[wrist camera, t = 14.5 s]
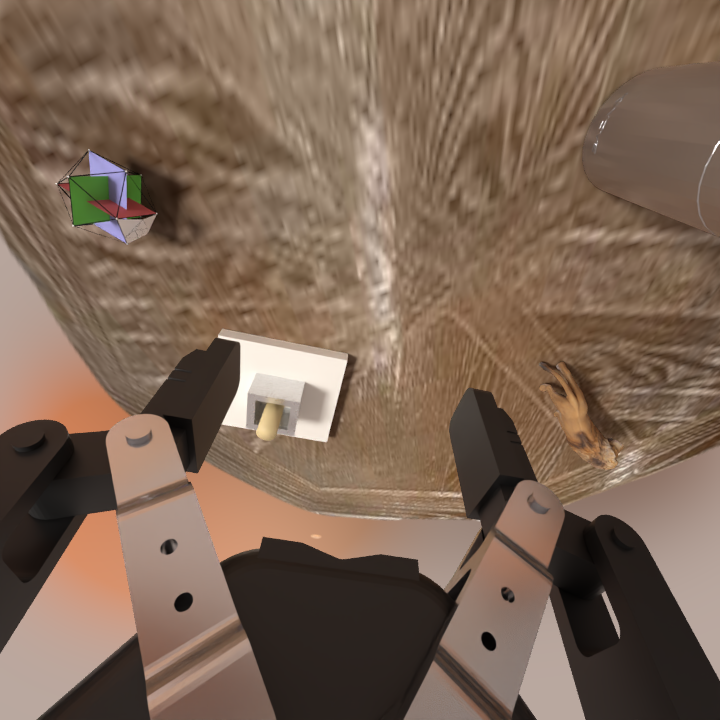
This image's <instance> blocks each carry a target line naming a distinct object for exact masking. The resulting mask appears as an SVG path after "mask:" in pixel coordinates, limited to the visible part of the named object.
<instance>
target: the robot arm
mask: <svg viewBox="0 0 720 720" xmlns="http://www.w3.org/2000/svg"><path fill="white" fill-rule="evenodd" d="M583 166H584V171H585V173H586V175H587V177H588V179H589V180H590V181H591V183H592V184H593V185H594V186H596V187H597V188H599V189H601V190H602V191H605V192H607V193H610V194H612V195H615V196H617V197H620V198H622V199H624V200H627V201H629V202H632V203H634V204H637V205H639V206H642V207H644V208H647V209H649V210H652V211H654V212H657V213H660V214H662V215H665V216H667V217H670V218H672V219H675V220H677V221H680V222H682V223H685V224H687V225H690V226H692V227H695V228H697V229H700V230H702V231H705V232H707V233H710V234H713V235H715V236H718V237H720V61H718V62H708V63H697V64H687V65H678V66H669V67H661V68H657V69H652V70H648V71H646V72H644V73H642V74H639V75H637V76H635V77H633V78H632V79H630V80H629V81H627V82H626V83H625V84H623V85H622V86H621V87H619V88H618V89H617V90H616V91H615V92H614V93H613V94H612V95H611V96H610V97H609V98H608V99H607V100H606V102H605V103H604V104H603V105H602V106H601V108H600V109H599V111H598V112H597V114H596V116H595V117H594V119H593V121H592V122H591V125H590V127H589V129H588V132H587V134H586V138H585V142H584V146H583ZM239 382H240V343H239V342H237V341H232V340H226V339H221V338H215V339H214V340H213V342H212V343H211V345H210V346H209V348H208V349H207V351H203V350H198V349H196V350H195V351H193V352H191V353H190V354H188V355H186V356H185V357H183V358H182V359H181V361H180V362H179V363H178V365H177V366H176V367H175V370H173V371H172V373H171V374H170V375H169V377H168V380H167V379H166V381H165V382H164V383H163V385H162V386H161V387H160V389H159V390H158V391H157V393H156V394H155V395H154V397H153V398H152V399H151V400H150V402H149V403H148V404H147V406H146V407H145V408H144V410H143V411H142V412H141V414H139V415H134V416H131V417H128V418H126V419H123V420H122V421H120V422H118V423H117V424H115V425H114V426H113V427H112V428H111V429H110V430H108V431H100V432H88V433H75V434H69V433H68V431H67V429H66V427H65V426H64V425H63V424H61V423H59V422H57V421H53V420H35V421H31V422H26V423H23V424H20V425H17V426H15V427H13V428H11V429H9V430H7V431H6V432H4V433H3V434H1V435H0V653H1V651H2V650H3V648H4V646H5V645H6V644H7V642H8V640H9V639H10V637H11V636H12V634H13V632H14V631H15V629H16V628H17V626H18V624H19V623H20V621H21V620H22V618H23V617H24V615H25V613H26V612H27V610H28V609H29V607H30V605H31V604H32V602H33V601H34V599H35V597H36V596H37V594H38V593H39V591H40V589H41V588H42V586H43V585H44V583H45V581H46V580H47V578H48V577H49V575H50V573H51V572H52V570H53V569H54V567H55V565H56V564H57V562H58V561H59V559H60V558H61V556H62V554H63V553H64V551H65V549H66V548H67V546H68V545H69V543H70V541H71V540H72V538H73V537H74V535H75V533H76V532H77V530H78V529H79V527H80V525H81V524H82V522H83V521H84V519H85V518H86V516H87V514H90V513H97V512H104V511H111V510H116V515H117V522H118V528H119V533H120V539H121V544H122V550H123V556H124V561H125V567H126V572H127V578H128V584H129V589H130V595H131V601H132V606H133V612H134V617H135V623H136V628H137V633H136V634H135V635H134V636H133V637H132V638H130V639H129V640H128V641H127V642H126V643H124V644H123V645H122V646H121V647H120V648H119V649H118V650H117V651H115V652H114V653H113V654H112V655H111V656H110V657H109V658H107V659H106V660H105V661H104V662H103V663H101V664H100V665H99V666H98V667H97V668H96V669H94V670H93V671H92V672H91V673H90V674H89V675H88V676H86V677H85V678H84V679H83V680H82V681H81V682H80V683H78V684H77V685H76V686H75V687H74V688H72V689H71V690H70V691H69V692H68V693H67V694H66V695H64V696H63V697H62V698H61V699H60V700H59V701H57V702H56V703H55V704H54V705H53V706H52V707H51V708H49V709H48V710H47V711H46V712H45V713H44V714H43V715H41V716H40V717H39V718H38V719H37V720H537V719H536V718H535V716H534V715H533V714H532V712H531V711H530V709H529V708H528V707H527V705H526V704H525V702H524V701H523V699H522V698H521V696H520V695H519V690H520V687H521V684H522V681H523V677H524V674H525V671H526V668H527V665H528V661H529V658H530V655H531V652H532V649H533V645H534V642H535V639H536V636H537V633H538V629H539V626H540V623H541V619H542V616H543V613H544V610H545V607H546V604H547V600H548V597H549V596H550V600H551V603H552V606H553V609H554V613H555V617H556V620H557V623H558V627H559V630H560V634H561V637H562V640H563V644H564V647H565V651H566V654H567V658H568V661H569V664H570V668H571V671H572V675H573V678H574V681H575V685H576V688H577V692H578V695H579V699H580V702H581V705H582V709H583V712H584V716H585V719H586V720H720V681H719V679H718V677H717V675H716V673H715V671H714V670H713V668H712V666H711V664H710V662H709V660H708V658H707V657H706V655H705V653H704V651H703V649H702V647H701V646H700V644H699V642H698V640H697V638H696V636H695V635H694V633H693V631H692V629H691V627H690V625H689V624H688V622H687V620H686V618H685V616H684V614H683V613H682V611H681V609H680V607H679V605H678V604H677V602H676V600H675V598H674V596H673V594H672V593H671V591H670V589H669V587H668V585H667V583H666V581H665V580H664V578H663V576H662V574H661V572H660V571H659V569H658V567H657V565H656V563H655V561H654V559H653V558H652V556H651V554H650V552H649V550H648V548H647V547H646V545H645V543H644V542H643V540H642V539H641V537H640V536H639V535H638V534H637V533H636V531H634V530H633V529H632V528H631V527H630V526H629V525H627V524H626V523H625V522H623V521H621V520H620V519H618V518H616V517H613V516H610V515H600V516H598V517H597V518H596V519H595V520H594V521H592V522H590V521H588V520H586V519H583V518H581V517H579V516H577V515H575V514H573V513H571V512H568V511H566V510H564V508H563V505H562V503H561V502H560V500H559V499H558V497H557V496H556V495H555V494H554V493H553V492H552V491H551V490H550V489H548V488H547V487H546V486H544V485H542V484H540V483H538V481H537V479H536V477H535V474H534V472H533V469H532V467H531V464H530V462H529V459H528V457H527V455H526V452H525V450H524V447H523V446H522V445H521V443H522V442H521V440H520V438H519V435H517V430H516V428H515V425H514V423H513V421H512V419H511V418H510V417H509V416H508V415H507V413H506V412H505V411H504V410H503V409H501V408H497V405H496V402H495V400H494V397H493V395H492V393H491V392H488V391H483V390H478V389H473V388H468V389H467V390H466V392H465V393H464V395H463V397H462V399H461V401H460V403H459V405H458V407H457V408H456V410H455V412H454V414H453V416H452V418H451V421H450V427H449V433H450V438H451V443H452V448H453V453H454V457H455V462H456V467H457V472H458V477H459V481H460V486H461V491H462V496H463V501H464V505H465V510H466V515H467V518H471V519H477V520H480V521H481V525H482V528H481V529H480V530H479V532H478V533H477V535H476V537H475V538H474V540H473V542H472V544H471V546H470V547H469V549H468V551H467V553H466V554H465V556H464V558H463V560H462V561H461V563H460V565H459V567H458V568H457V570H456V572H455V574H454V575H453V577H452V578H451V580H450V581H449V583H448V584H447V586H446V587H445V588H444V590H443V589H442V588H441V587H440V586H439V585H438V584H436V583H435V582H434V581H432V580H431V579H429V578H428V577H426V576H424V575H422V574H421V573H419V568H418V560H416V559H409V558H402V557H394V556H388V555H382V554H380V555H373V556H366V557H359V558H351V559H343V560H342V559H338V558H335V557H333V556H331V555H329V554H326V553H324V552H322V551H320V550H317V549H315V548H313V547H311V546H308V545H306V544H304V543H300V542H293V541H287V540H280V539H273V538H266V537H263V539H262V543H261V547H260V549H253V550H249V551H245V552H242V553H239V554H236V555H234V556H231V557H229V558H227V559H226V560H224V561H222V562H220V563H219V560H218V557H217V554H216V551H215V548H214V546H213V542H212V540H211V537H210V534H209V531H208V528H207V526H206V523H205V520H204V517H203V514H202V511H201V508H200V505H199V503H198V499H197V497H196V494H195V491H194V488H193V486H192V484H191V482H188V479H187V477H186V474H185V472H186V471H187V472H193V473H198V472H199V470H200V468H201V466H202V464H203V462H204V460H205V457H206V455H207V453H208V451H209V449H210V447H211V445H212V443H213V441H214V439H215V437H216V435H217V433H218V431H219V429H220V426H221V424H222V422H223V420H224V418H225V416H226V414H227V412H228V410H229V408H230V406H231V404H232V402H233V400H234V398H235V395H236V393H237V390H238V387H239ZM604 591H606V594H607V596H608V598H609V601H610V603H611V606H612V608H613V611H614V613H615V616H616V618H617V620H618V623H619V627H620V639H619V637H618V634H617V632H616V629H615V627H614V624H613V622H612V619H611V617H610V614H609V612H608V609H607V607H606V605H605V602H604V600H603V597H602V594H601V593H603V592H604Z"/></svg>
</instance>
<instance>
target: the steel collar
mask: <svg viewBox="0 0 720 720" xmlns="http://www.w3.org/2000/svg"><path fill="white" fill-rule="evenodd" d="M304 384H305V382H304V381H298V380H293V379H288V378H282V377H277V376H272V375H267V374H261V373H256V375H255V377H254V379H253V382H252V384H251V386H250V389H249V391H248V395H247V417H246V428H248V429H254V430H257V428H258V425H259V423H260V420H261V417H262V414H263V411H264V408H265V405H266V404H263V403H262V402H267V403H272V404H278V405H283V406H289V407H291V408H286V407H284V410H283V414H282V417H281V421H280V424H279V428H278V431H277V434H283V435H289V436H294V435H295V431H296V426H297V422H298V418H299V413H300V407H301V402H302V396H303V390H304Z"/></svg>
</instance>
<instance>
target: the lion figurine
mask: <svg viewBox="0 0 720 720" xmlns="http://www.w3.org/2000/svg"><path fill="white" fill-rule="evenodd" d="M539 365H540V366H541V367H542V368H543V369H544V370H545V371H548V372H550V373H551V374H553V375H554V376H555V377H556V378H557V379H558V381H559V382H560V383H561V385H562V386H563V388H564V390H565V392H566V394H567V396H564V395H562V394H559V393H557V392H556V391H554V389H553V387H552V386H551V385H549V384H542V385H541V386H540V390H541V391H543V392H546V391H548V393H549V395H550V397H551V399H552V401H553V403H554V404H555V405H556V407H557V409H558V410H557V411H556V412H555V413H554V416H555V417H558V419H559V422H560V424H561V427H562V429H563V430H564V432H565V434H566V437H567V441H568V443H569V445H570V446H571V447H572V449H573V450H574V451H576V452H577V453H578V454H579V455H580V456H581V458H582V459H583V460H585V461H587V462H589V463H590V464H591V465H593V466H594V467H596V468H601V469H604V470H606V469H612V468H615V466H617V464H618V462H617V460H616V458H617V457H618V453H619V452H620V451H621V450H622V449H623V447H624V445H623V444H621V443H620V442H619V441H617V440H613V439H612V438H607V439H606V438H605V437H604V435H602V434H601V433H600V431H599V430H598V429H597V428H596V426H594V424H593V422H592V421H591V420H590V418H589V416H588V415H587V410H588V406H587V403H586V401H585V398H584V395H583V392H582V391H581V389H580V388H579V387H578V385H577V383H576V382H575V381H574V379H573V377H572V375H571V373H570V371H569V370H568V369H567V368H566V364H565V363H564V362H560V363H558V364H557V365H556V367H557V369H558V370H559V371H561V372H562V374H563V375H564V377H565V378H566V380H567V381H568V384H569V386H568V384H567V383H566V382H565V380H564V379H563V378H562V377H561V376H560V375H559V374H558V373H557V372H555V371H554V370H553V369H551V368H550V367H548V366H547V364H545V363H543V362H540V363H539Z"/></svg>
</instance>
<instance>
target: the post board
mask: <svg viewBox="0 0 720 720" xmlns="http://www.w3.org/2000/svg"><path fill="white" fill-rule="evenodd" d="M218 338H221V339H226V340H232V341H237V342H239V343H240V382H239V387H238V390H237V393H236V395H235V398H234V400H233V402H232V404H231V406H230V408H229V410H228V412H227V414H226V416H225V418H224V420H223V422H222V424H223V425H229V426H235V427H240V428H246V417H247V395H248V391H249V389H250V386H251V384H252V382H253V379H254V377H255V375H256V373H261V374H267V375H272V376H277V377H282V378H288V379H293V380H298V381H304V382H305V384H304V390H303V396H302V402H301V407H300V413H299V418H298V422H297V426H296V431H295V435H294V436H293V437H299V438H305V439H311V440H317V441H322V442H327V439H328V435H329V431H330V427H331V423H332V420H333V416H334V412H335V408H336V404H337V400H338V396H339V392H340V388H341V384H342V380H343V376H344V372H345V368H346V364H347V360H348V354H347V353H342V352H337V351H332V350H327V349H322V348H317V347H312V346H307V345H302V344H297V343H292V342H287V341H282V340H277V339H272V338H267V337H262V336H257V335H252V334H247V333H242V332H237V331H232V330H227V329H222V330H221V332H220V333H219V335H218ZM262 403H263V404H266V405H265V408H264V411H263V414H262V417H261V420H260V423H259V425H258V428H257V431H256V434H257V436H258V437H259V438H261V439H263V440H273V439H274V438H275V437H276V435H277V431H278V428H279V424H280V421H281V417H282V414H283V410H284V407H286V408H291V407H289V406H283V405H278V404H272V403H267V402H262ZM246 429H248V428H246ZM252 430H254V429H252ZM281 435H283V434H281ZM287 436H289V435H287Z"/></svg>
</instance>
